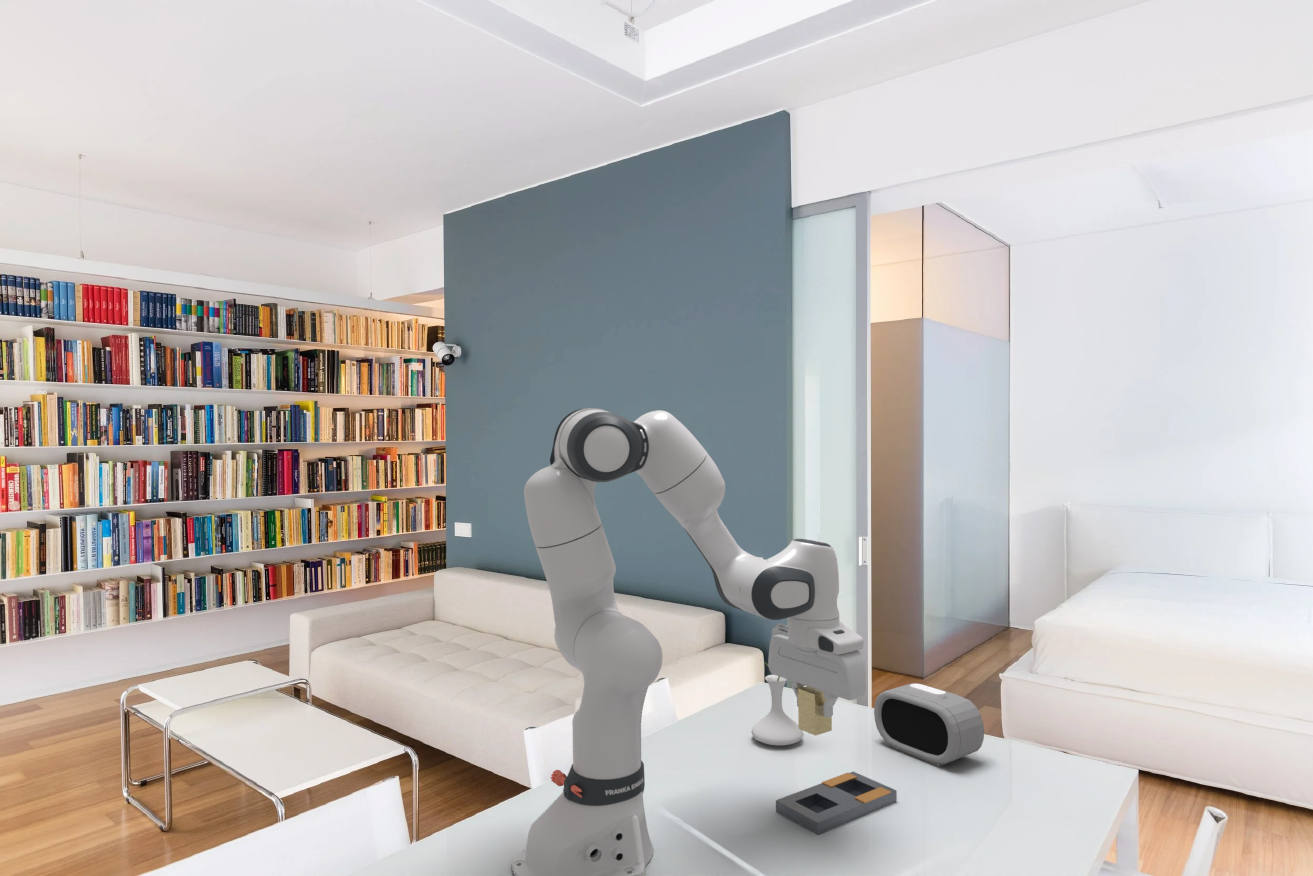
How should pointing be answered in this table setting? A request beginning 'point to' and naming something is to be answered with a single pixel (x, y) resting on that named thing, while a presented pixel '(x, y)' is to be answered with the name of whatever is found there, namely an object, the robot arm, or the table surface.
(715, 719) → the table surface
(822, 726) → the brass block
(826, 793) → the rail
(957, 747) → the alarm clock
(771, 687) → the flower in vase
